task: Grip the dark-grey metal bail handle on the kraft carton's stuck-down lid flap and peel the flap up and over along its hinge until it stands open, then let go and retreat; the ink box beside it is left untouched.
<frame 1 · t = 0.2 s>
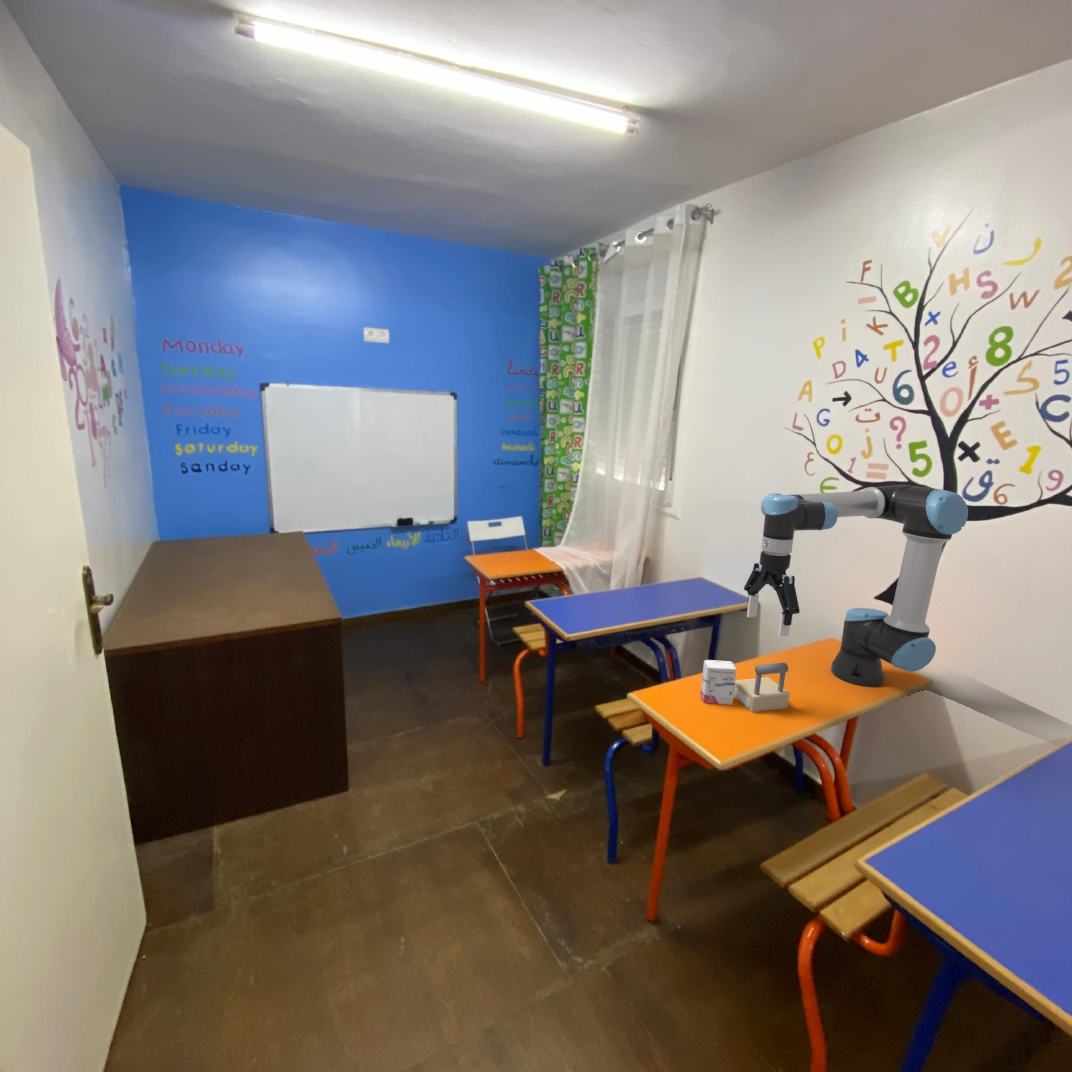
hand: (766, 625, 149), 27 cm above the table, fingers open, 13 cm apart
ink box: (715, 700, 161), on the table
carton: (759, 701, 161), on the table
flap: (762, 674, 159), point 9 cm above the table, hinge at 0.0°
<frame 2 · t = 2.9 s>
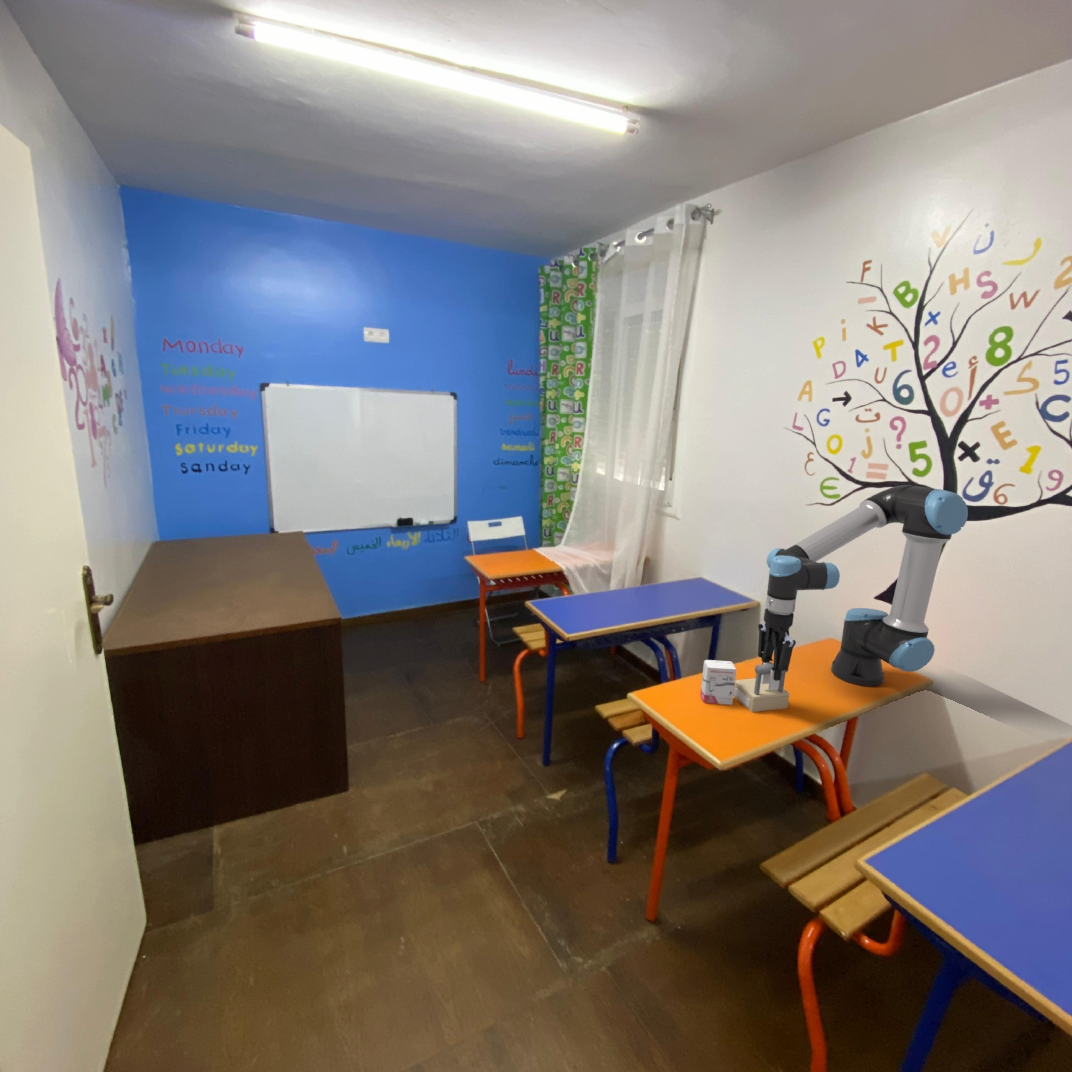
hand: (769, 685, 156), 7 cm above the table, fingers closed on flap, 3 cm apart
flap: (762, 674, 159), point 9 cm above the table, hinge at 0.0°, touching gripper
everything else where it was.
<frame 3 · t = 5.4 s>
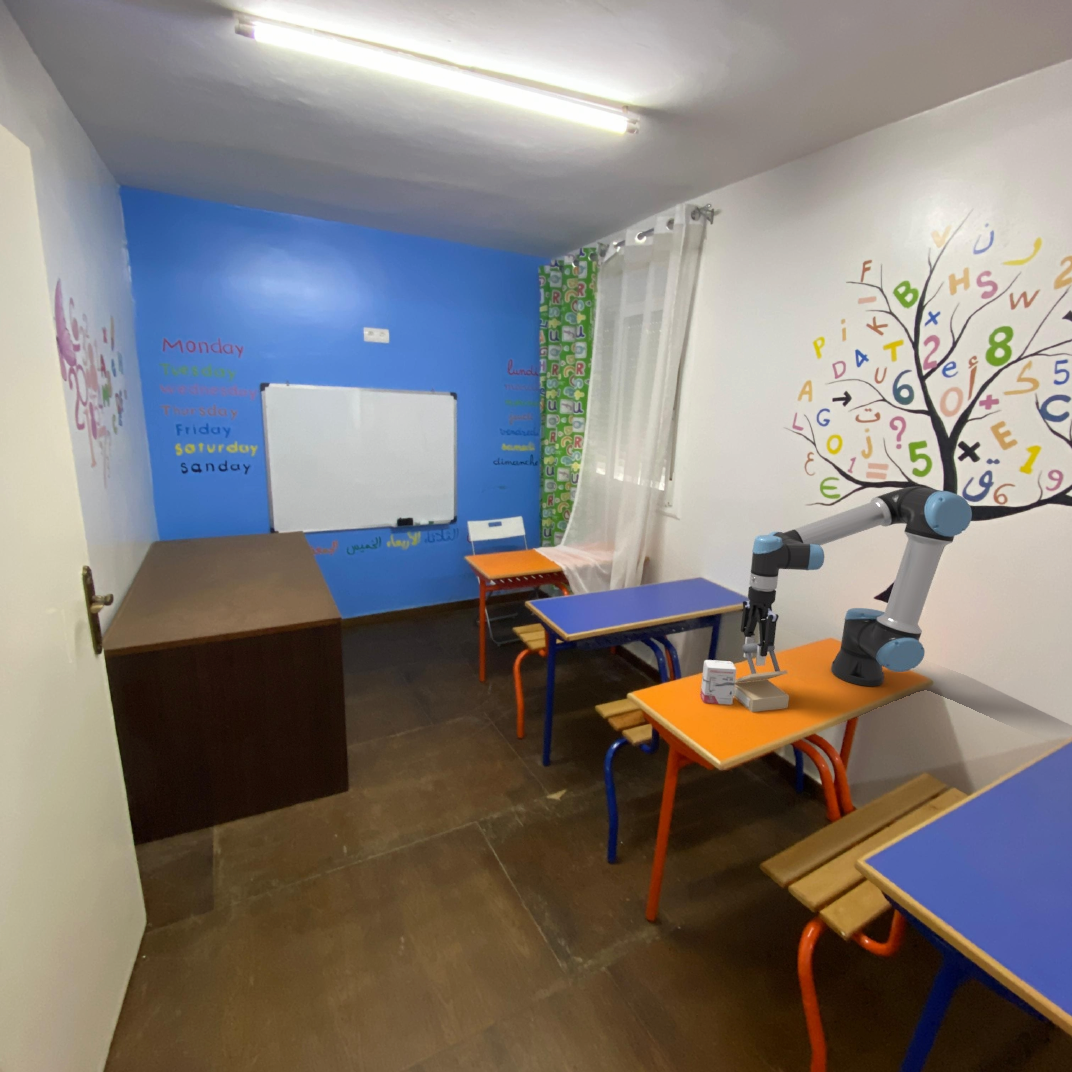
hand: (753, 660, 162), 11 cm above the table, fingers open, 5 cm apart
flap: (755, 661, 162), point 11 cm above the table, hinge at 38.0°, touching gripper
everything else where it was.
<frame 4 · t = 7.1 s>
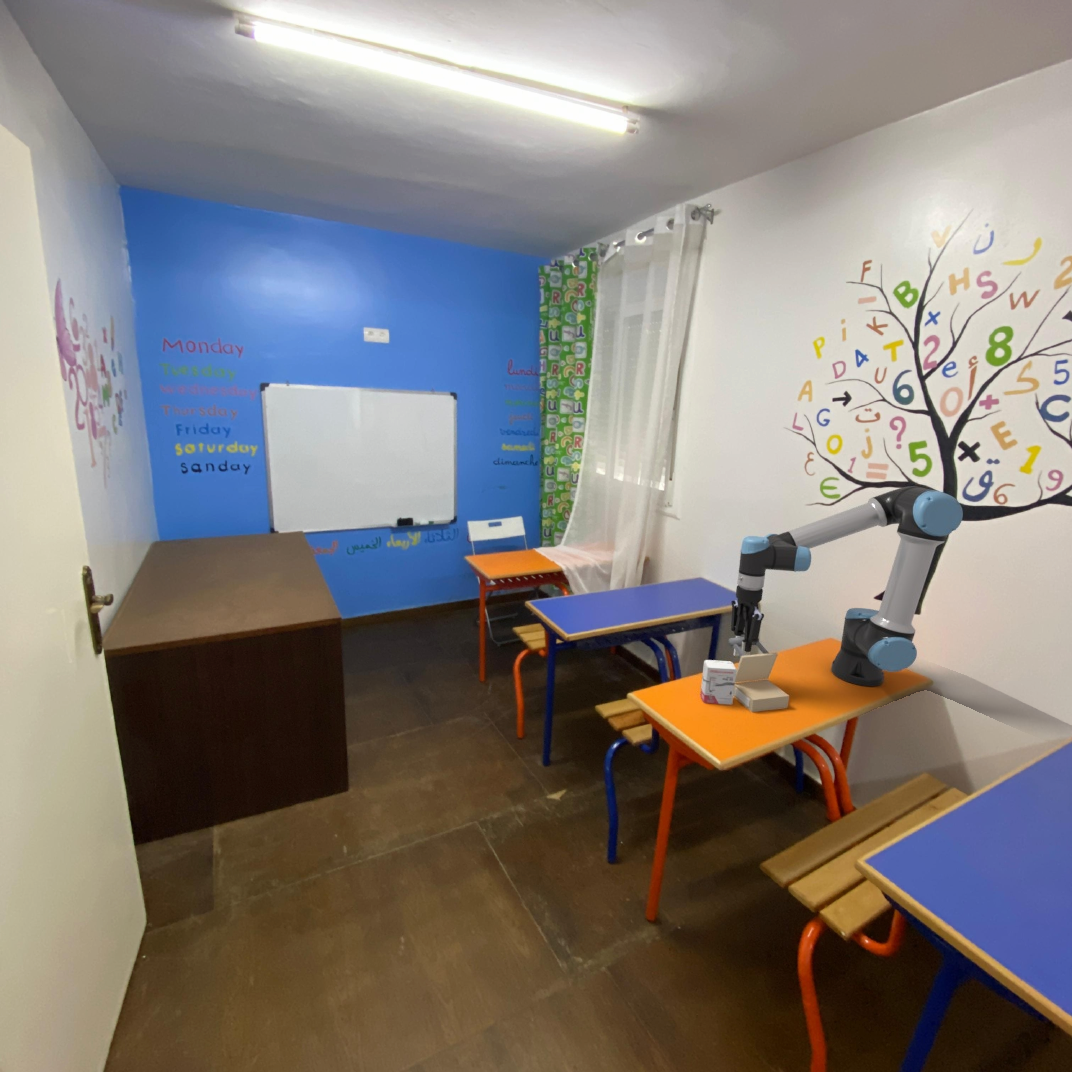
hand: (741, 657, 168), 9 cm above the table, fingers closed on flap, 3 cm apart
flap: (746, 657, 166), point 10 cm above the table, hinge at 74.0°, touching gripper
everything else where it was.
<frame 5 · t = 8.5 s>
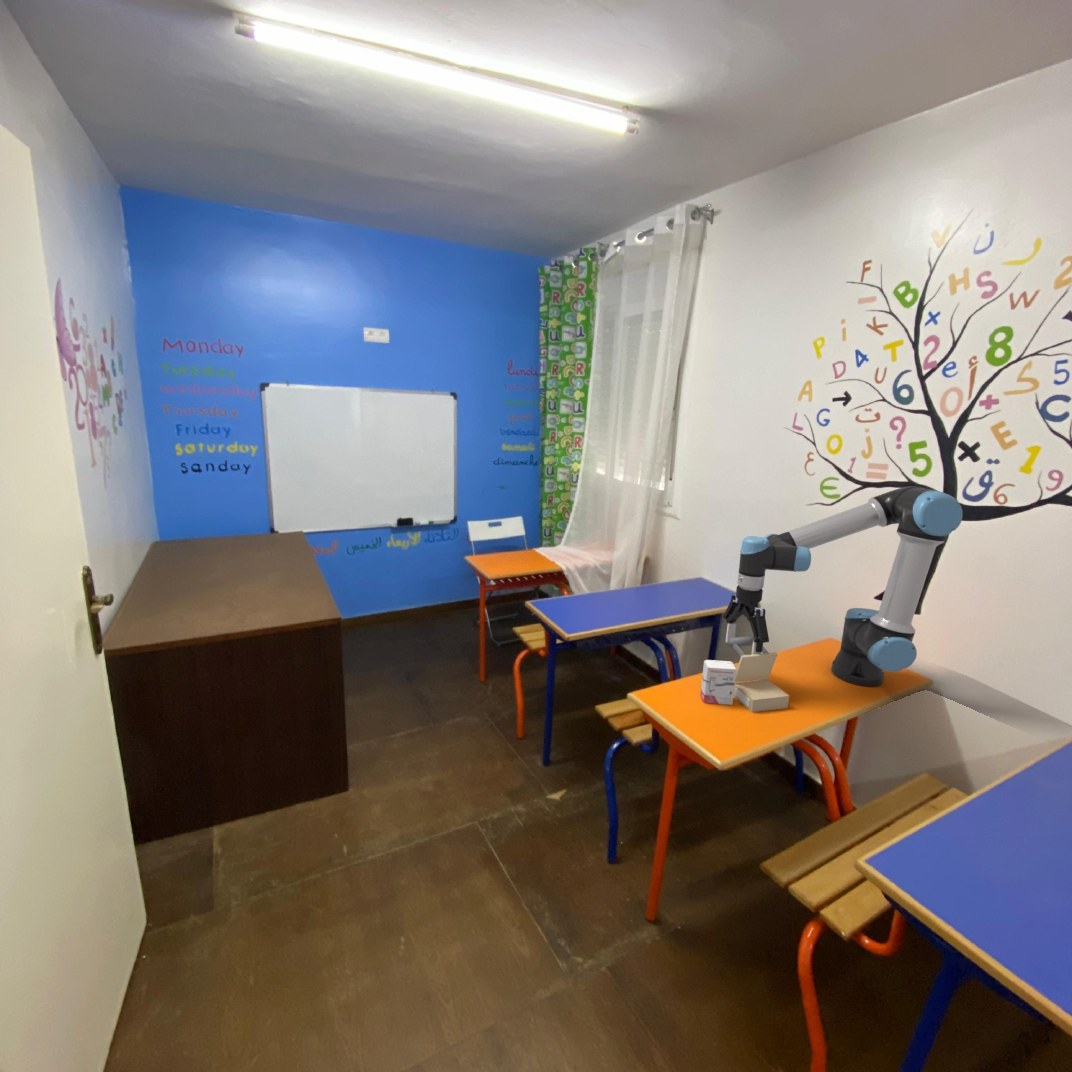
hand: (742, 651, 168), 11 cm above the table, fingers open, 13 cm apart
flap: (746, 657, 166), point 10 cm above the table, hinge at 74.5°, touching gripper
everything else where it was.
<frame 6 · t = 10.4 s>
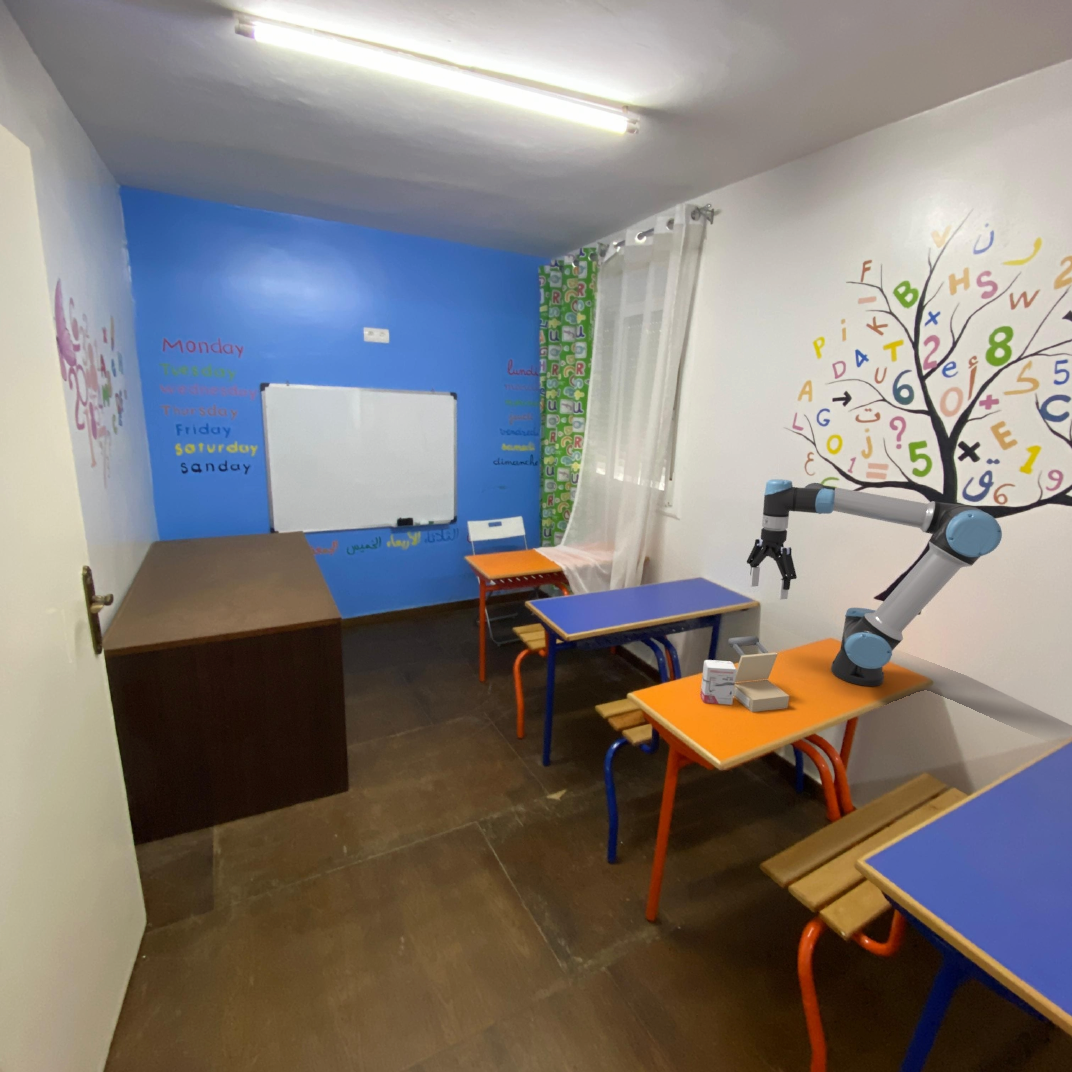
hand: (768, 592, 174), 28 cm above the table, fingers open, 13 cm apart
flap: (746, 657, 166), point 10 cm above the table, hinge at 74.5°
everything else where it was.
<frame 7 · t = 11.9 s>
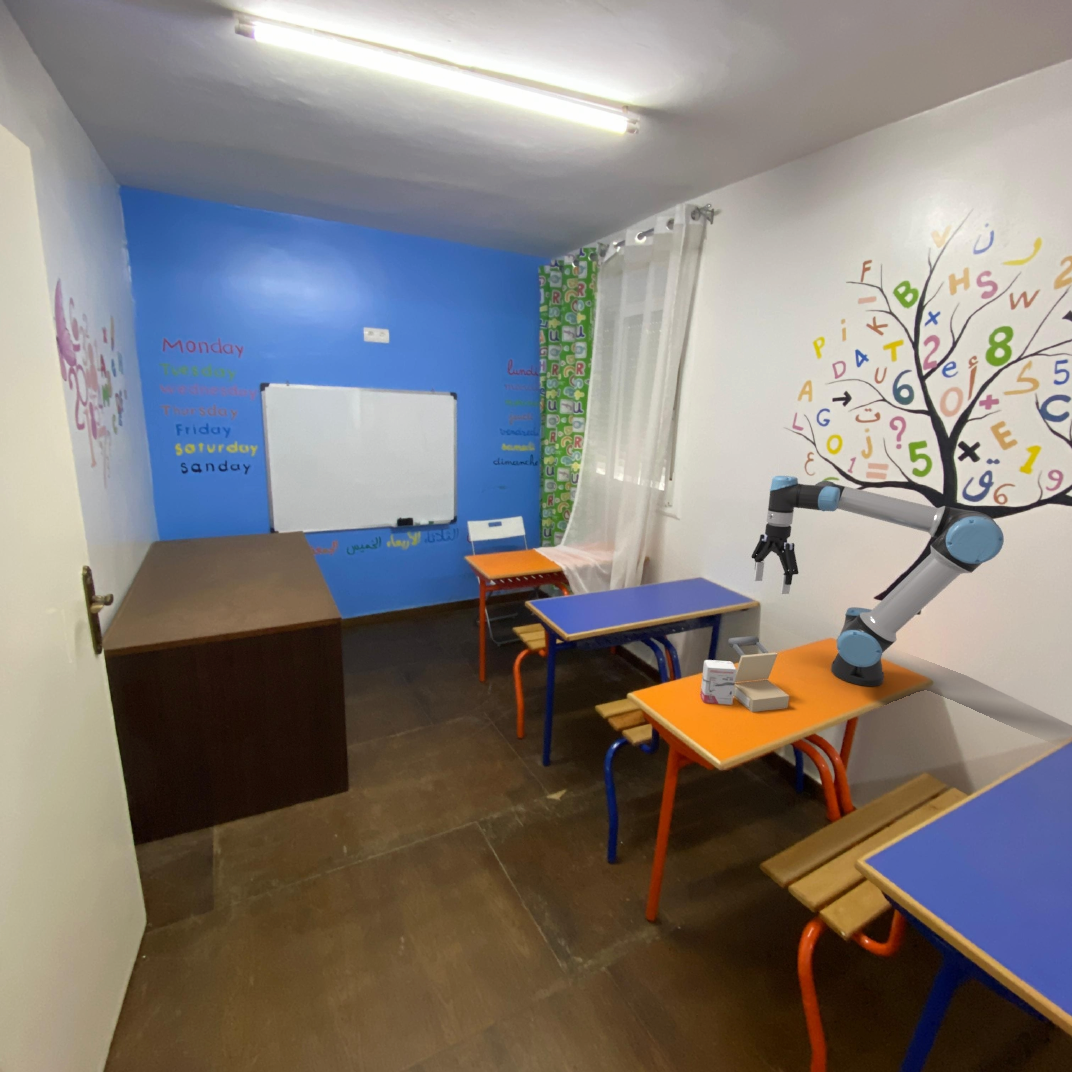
hand: (770, 586, 177), 29 cm above the table, fingers open, 13 cm apart
nothing on the table moved.
at the end: flap at +74° (first picture: +0°); the gripper is holding nothing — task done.
